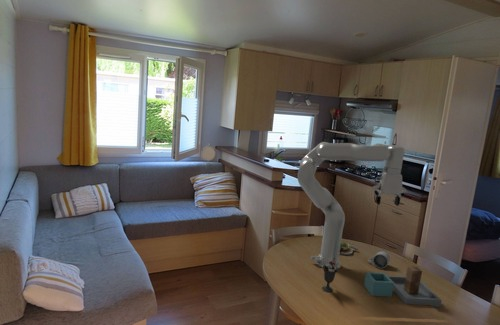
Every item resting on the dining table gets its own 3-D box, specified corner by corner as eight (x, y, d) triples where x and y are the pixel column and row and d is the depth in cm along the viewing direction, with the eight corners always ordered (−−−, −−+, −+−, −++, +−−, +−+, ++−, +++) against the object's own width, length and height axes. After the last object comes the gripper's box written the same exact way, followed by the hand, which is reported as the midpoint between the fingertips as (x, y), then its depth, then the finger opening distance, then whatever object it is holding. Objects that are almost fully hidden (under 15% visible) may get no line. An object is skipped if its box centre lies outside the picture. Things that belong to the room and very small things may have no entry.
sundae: (335, 287, 160) (339, 257, 158) (334, 294, 154) (338, 263, 151) (321, 284, 162) (325, 254, 160) (319, 291, 156) (323, 259, 153)
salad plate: (357, 247, 211) (358, 240, 211) (357, 258, 195) (358, 251, 194) (325, 241, 217) (326, 234, 216) (322, 251, 200) (323, 244, 199)
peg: (408, 294, 158) (412, 270, 156) (403, 289, 162) (407, 266, 160) (417, 294, 158) (422, 271, 156) (412, 289, 163) (416, 266, 161)
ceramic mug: (389, 265, 189) (391, 251, 188) (386, 270, 183) (388, 256, 181) (369, 259, 195) (371, 246, 194) (366, 264, 188) (367, 251, 187)
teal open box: (371, 297, 154) (374, 282, 153) (363, 286, 163) (366, 272, 162) (391, 298, 155) (393, 282, 154) (382, 287, 164) (384, 272, 163)
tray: (404, 305, 150) (406, 298, 149) (384, 282, 170) (385, 275, 169) (440, 307, 151) (441, 299, 151) (415, 283, 171) (416, 276, 170)
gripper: (378, 171, 167) (373, 205, 170) (413, 173, 168) (407, 207, 171) (372, 168, 174) (367, 201, 177) (405, 170, 176) (400, 203, 179)
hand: (387, 204), depth 174 cm, fingers open, 9 cm apart
